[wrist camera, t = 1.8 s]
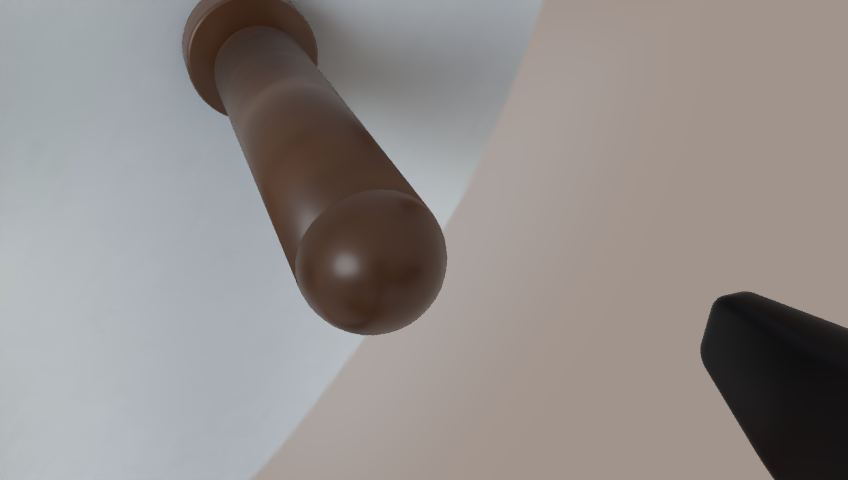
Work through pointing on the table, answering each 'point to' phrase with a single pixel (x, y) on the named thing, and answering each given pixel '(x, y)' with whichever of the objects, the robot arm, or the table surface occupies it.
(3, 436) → the table surface
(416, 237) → the wooden pestle
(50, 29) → the table surface
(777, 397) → the robot arm
